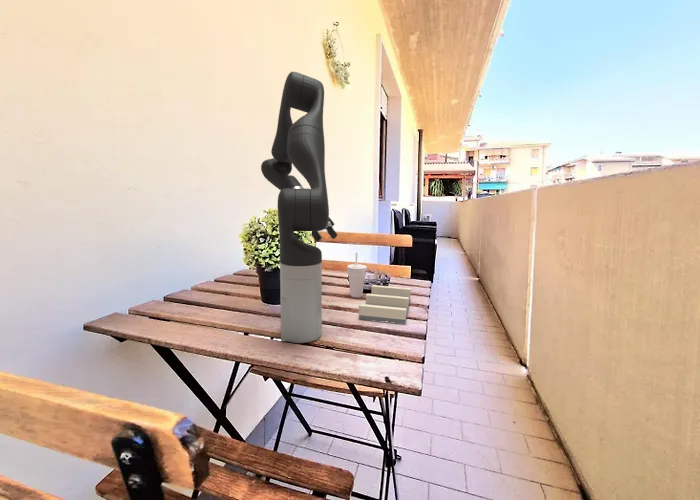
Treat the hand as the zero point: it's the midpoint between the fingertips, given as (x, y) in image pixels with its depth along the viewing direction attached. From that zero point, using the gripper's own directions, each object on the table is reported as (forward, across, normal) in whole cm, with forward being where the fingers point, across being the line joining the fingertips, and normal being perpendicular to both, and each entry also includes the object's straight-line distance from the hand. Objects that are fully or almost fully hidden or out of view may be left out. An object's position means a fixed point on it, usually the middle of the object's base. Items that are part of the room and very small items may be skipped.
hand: (327, 238), depth 111 cm
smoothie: (+21, 0, +4) cm, 21 cm away
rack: (+30, -5, -6) cm, 31 cm away
